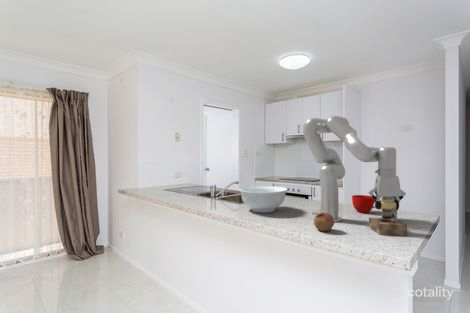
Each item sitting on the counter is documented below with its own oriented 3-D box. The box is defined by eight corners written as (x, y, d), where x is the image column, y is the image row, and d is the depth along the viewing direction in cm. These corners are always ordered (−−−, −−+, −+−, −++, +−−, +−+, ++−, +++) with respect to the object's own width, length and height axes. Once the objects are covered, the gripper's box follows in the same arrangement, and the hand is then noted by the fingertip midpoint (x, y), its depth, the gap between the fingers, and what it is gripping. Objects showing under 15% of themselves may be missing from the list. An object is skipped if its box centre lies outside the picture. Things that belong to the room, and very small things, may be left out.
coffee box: (381, 217, 150) (381, 190, 150) (393, 218, 148) (393, 190, 148) (384, 220, 142) (384, 192, 142) (397, 221, 140) (397, 192, 140)
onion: (321, 238, 121) (316, 221, 118) (313, 227, 130) (308, 211, 127) (339, 231, 121) (335, 214, 118) (330, 221, 130) (326, 205, 127)
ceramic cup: (382, 215, 153) (383, 199, 153) (352, 213, 160) (352, 197, 160) (380, 211, 165) (380, 196, 165) (351, 209, 172) (351, 194, 172)
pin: (382, 219, 119) (382, 202, 119) (375, 215, 127) (375, 199, 127) (399, 220, 118) (399, 203, 118) (391, 216, 126) (391, 200, 126)
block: (379, 234, 117) (379, 223, 117) (368, 227, 129) (368, 217, 129) (407, 235, 116) (407, 224, 116) (393, 228, 128) (393, 218, 128)
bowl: (229, 209, 171) (229, 188, 171) (262, 203, 192) (262, 184, 192) (264, 218, 147) (264, 193, 147) (297, 210, 168) (297, 188, 168)
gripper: (371, 173, 120) (371, 210, 120) (410, 173, 118) (410, 211, 118) (365, 172, 127) (365, 207, 127) (402, 172, 125) (402, 208, 125)
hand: (386, 208), depth 123 cm, fingers closed on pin, 7 cm apart
